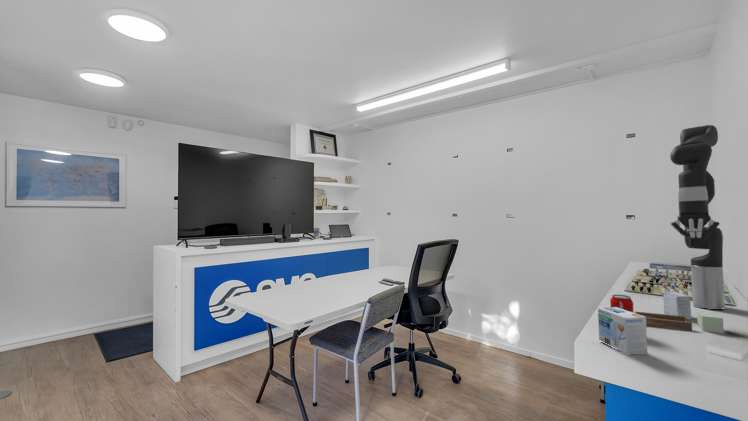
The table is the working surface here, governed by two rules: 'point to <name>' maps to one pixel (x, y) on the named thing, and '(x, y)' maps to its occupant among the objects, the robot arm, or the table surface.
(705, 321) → the sage block
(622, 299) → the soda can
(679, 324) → the walnut chute
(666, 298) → the medicine box
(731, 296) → the table surface
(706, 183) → the robot arm
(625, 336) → the light bulb box
